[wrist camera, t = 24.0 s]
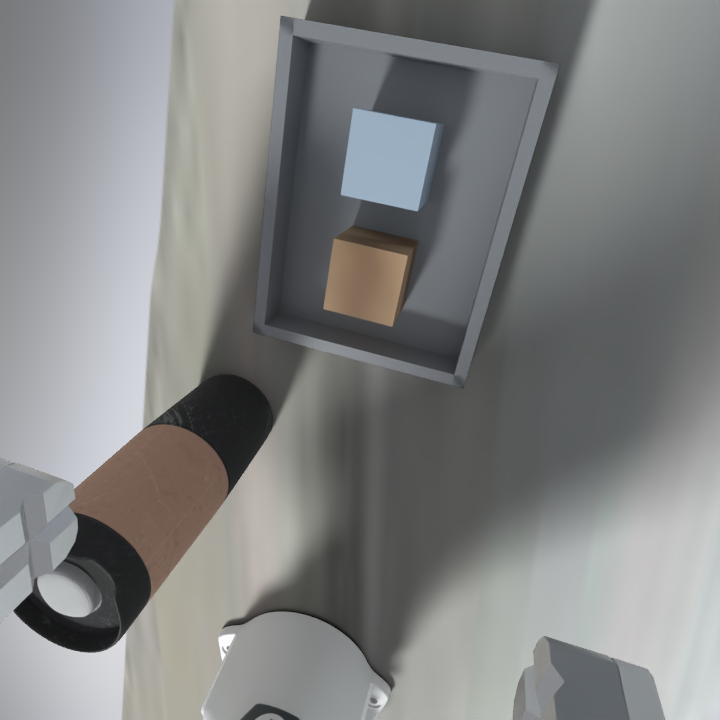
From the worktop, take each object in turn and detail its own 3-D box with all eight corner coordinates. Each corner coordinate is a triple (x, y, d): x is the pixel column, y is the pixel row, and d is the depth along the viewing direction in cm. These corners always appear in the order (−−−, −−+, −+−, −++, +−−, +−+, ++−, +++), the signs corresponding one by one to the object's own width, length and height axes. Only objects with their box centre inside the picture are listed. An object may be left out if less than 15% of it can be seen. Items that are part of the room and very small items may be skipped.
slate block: (427, 201, 33) (417, 211, 29) (359, 186, 34) (340, 194, 30) (444, 124, 31) (436, 123, 27) (371, 110, 32) (353, 108, 28)
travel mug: (194, 439, 47) (7, 630, 29) (191, 362, 43) (-21, 525, 26) (274, 459, 45) (129, 672, 28) (278, 381, 42) (116, 567, 24)
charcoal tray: (466, 366, 38) (463, 388, 35) (272, 316, 40) (252, 332, 37) (553, 70, 29) (560, 63, 26) (302, 26, 32) (280, 15, 28)
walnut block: (418, 240, 34) (408, 255, 30) (404, 304, 36) (392, 326, 32) (352, 225, 35) (333, 238, 31) (342, 289, 37) (323, 308, 33)
